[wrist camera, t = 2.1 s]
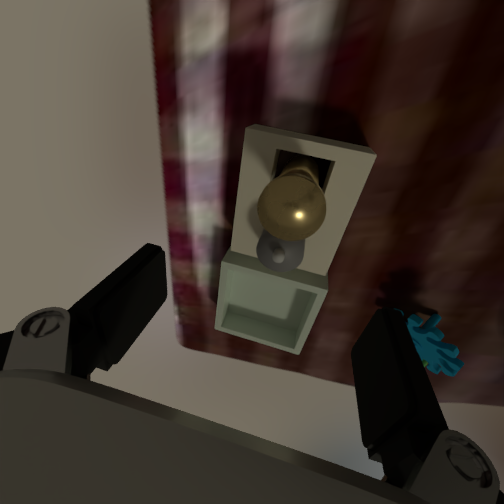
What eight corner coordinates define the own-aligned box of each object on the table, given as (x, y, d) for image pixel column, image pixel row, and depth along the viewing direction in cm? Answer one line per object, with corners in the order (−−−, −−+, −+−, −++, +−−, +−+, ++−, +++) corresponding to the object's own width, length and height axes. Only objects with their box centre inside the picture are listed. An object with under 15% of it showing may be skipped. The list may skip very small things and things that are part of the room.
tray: (230, 245, 35) (221, 261, 32) (327, 271, 33) (328, 290, 30) (222, 311, 43) (214, 328, 40) (300, 334, 41) (298, 354, 38)
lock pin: (283, 144, 26) (263, 169, 17) (331, 154, 26) (336, 185, 17) (273, 190, 29) (252, 232, 20) (316, 200, 29) (314, 247, 20)
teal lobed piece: (371, 302, 32) (461, 350, 24) (398, 276, 34) (491, 313, 26) (378, 347, 38) (453, 397, 30) (401, 322, 40) (477, 364, 32)
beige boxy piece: (255, 123, 26) (232, 133, 19) (369, 147, 24) (387, 165, 18) (239, 235, 34) (219, 269, 27) (324, 257, 32) (325, 298, 26)
